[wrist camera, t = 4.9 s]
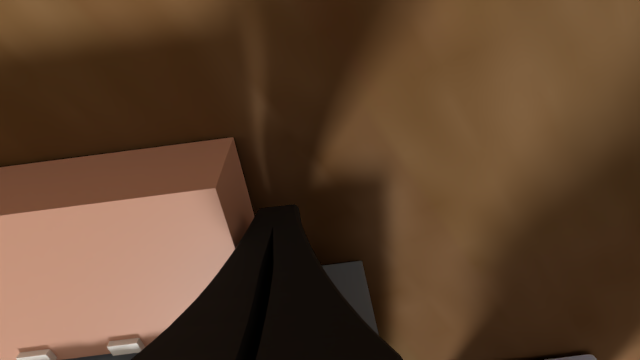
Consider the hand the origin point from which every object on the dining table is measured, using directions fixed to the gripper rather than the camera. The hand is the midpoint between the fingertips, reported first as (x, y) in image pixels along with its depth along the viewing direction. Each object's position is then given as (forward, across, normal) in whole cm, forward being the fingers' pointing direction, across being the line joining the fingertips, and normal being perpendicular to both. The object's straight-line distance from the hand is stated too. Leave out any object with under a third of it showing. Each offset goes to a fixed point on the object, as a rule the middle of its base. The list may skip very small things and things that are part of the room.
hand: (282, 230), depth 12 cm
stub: (+1, +7, 0) cm, 7 cm away
